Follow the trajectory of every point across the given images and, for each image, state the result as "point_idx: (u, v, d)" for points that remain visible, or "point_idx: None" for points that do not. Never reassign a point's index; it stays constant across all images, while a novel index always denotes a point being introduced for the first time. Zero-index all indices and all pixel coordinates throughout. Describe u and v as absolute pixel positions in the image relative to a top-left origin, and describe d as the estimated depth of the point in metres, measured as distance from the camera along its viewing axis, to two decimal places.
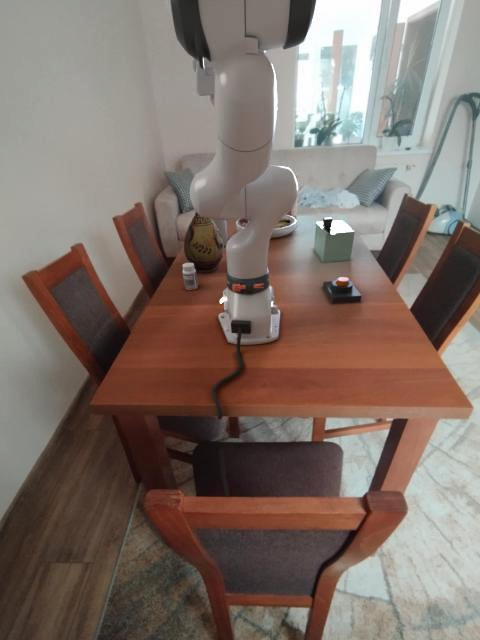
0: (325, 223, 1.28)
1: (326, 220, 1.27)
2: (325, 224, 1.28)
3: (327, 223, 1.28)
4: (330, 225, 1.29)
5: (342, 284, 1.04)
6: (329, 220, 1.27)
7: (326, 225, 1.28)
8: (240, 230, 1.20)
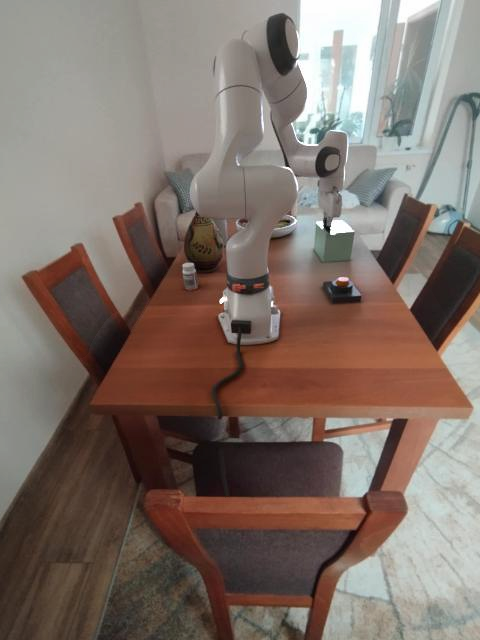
0: (325, 223, 1.28)
1: None
2: (325, 224, 1.28)
3: None
4: None
5: (342, 284, 1.04)
6: None
7: (326, 225, 1.28)
8: (240, 230, 1.20)
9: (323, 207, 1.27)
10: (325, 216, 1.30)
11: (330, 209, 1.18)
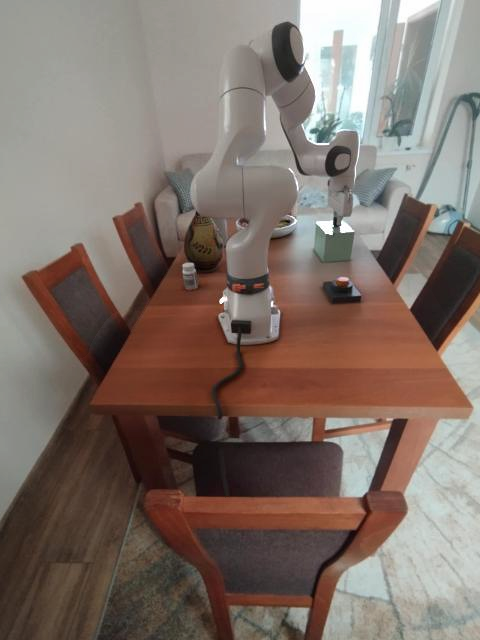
0: (335, 222, 1.28)
1: (336, 219, 1.27)
2: (335, 223, 1.28)
3: None
4: None
5: (342, 284, 1.04)
6: None
7: (336, 224, 1.29)
8: (240, 230, 1.20)
9: (333, 206, 1.27)
10: (335, 215, 1.30)
11: (341, 208, 1.18)
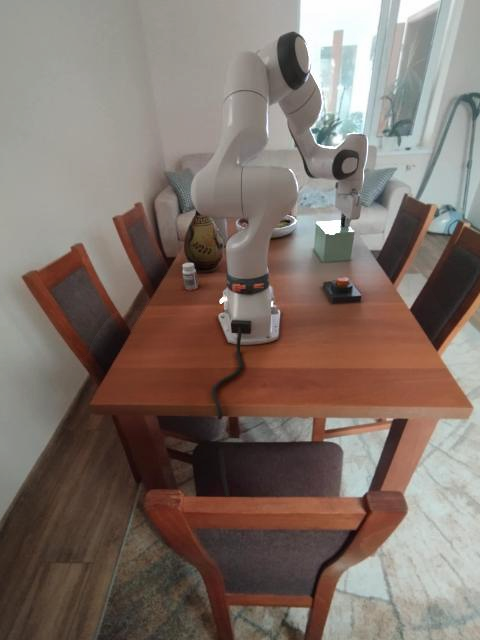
0: (343, 222, 1.28)
1: (344, 219, 1.27)
2: (343, 223, 1.28)
3: None
4: None
5: (342, 284, 1.04)
6: None
7: None
8: (240, 230, 1.20)
9: (341, 209, 1.27)
10: None
11: (349, 211, 1.19)
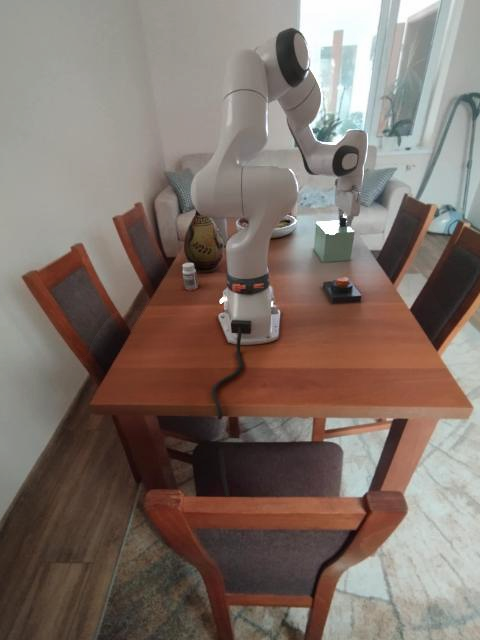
0: (341, 222, 1.28)
1: (342, 219, 1.27)
2: (341, 223, 1.28)
3: (344, 222, 1.28)
4: None
5: (342, 284, 1.04)
6: (345, 219, 1.27)
7: (342, 224, 1.29)
8: (240, 230, 1.20)
9: (340, 206, 1.27)
10: (340, 213, 1.32)
11: (349, 208, 1.19)
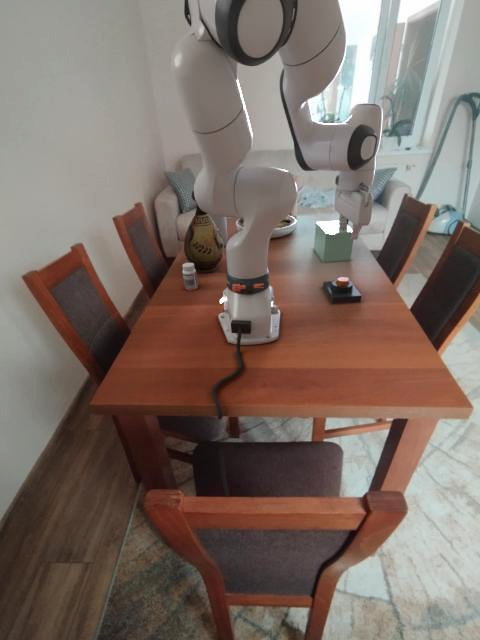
0: None
1: None
2: None
3: None
4: None
5: (342, 284, 1.04)
6: None
7: None
8: (240, 230, 1.20)
9: (343, 212, 0.94)
10: (342, 221, 0.99)
11: (355, 214, 0.86)
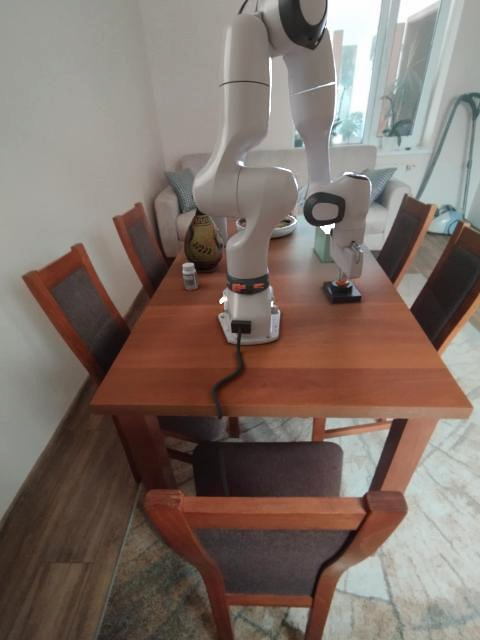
0: None
1: None
2: None
3: None
4: None
5: None
6: None
7: None
8: (240, 230, 1.20)
9: (337, 261, 1.03)
10: (340, 272, 1.05)
11: (348, 268, 0.95)
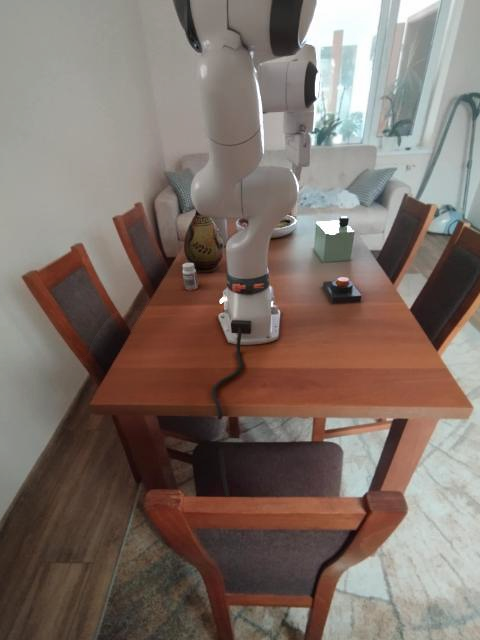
0: (341, 222, 1.28)
1: (342, 219, 1.27)
2: (341, 223, 1.28)
3: (344, 222, 1.28)
4: (346, 224, 1.29)
5: (342, 284, 1.04)
6: (345, 219, 1.27)
7: (342, 224, 1.29)
8: (240, 230, 1.20)
9: (290, 157, 0.99)
10: None
11: (296, 155, 0.91)
